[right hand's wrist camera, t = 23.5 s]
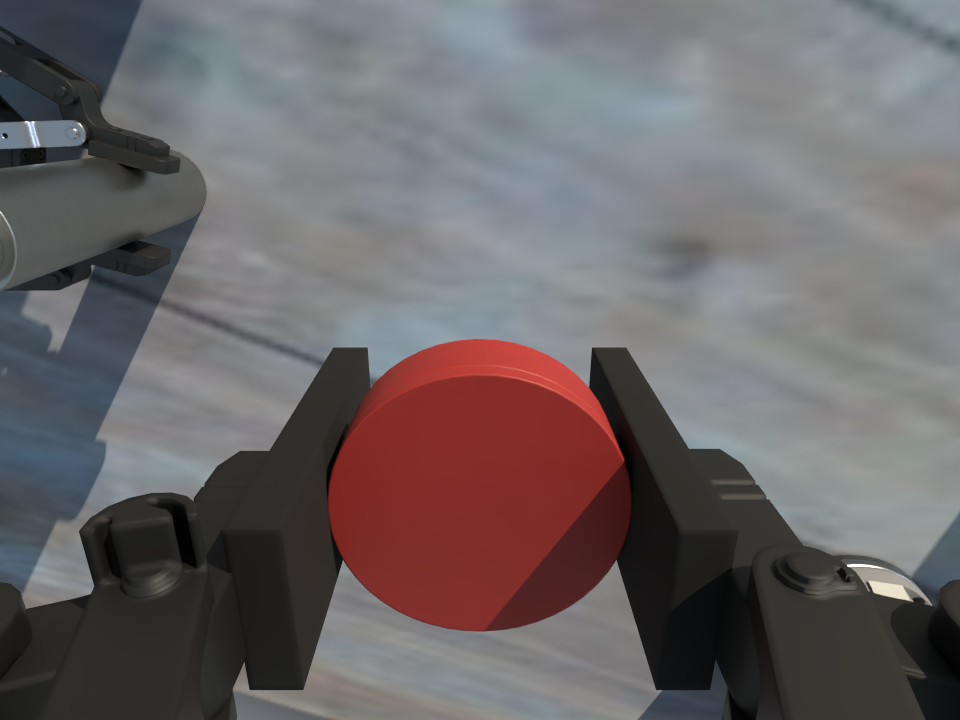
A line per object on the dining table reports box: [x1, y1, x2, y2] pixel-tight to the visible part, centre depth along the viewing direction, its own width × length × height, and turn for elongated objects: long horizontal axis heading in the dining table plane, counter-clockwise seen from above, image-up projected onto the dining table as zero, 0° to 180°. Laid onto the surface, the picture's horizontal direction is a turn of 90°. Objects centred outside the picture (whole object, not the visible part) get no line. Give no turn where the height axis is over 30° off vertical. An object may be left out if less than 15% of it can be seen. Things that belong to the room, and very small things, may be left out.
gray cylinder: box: [0, 150, 206, 292], centre depth 30 cm, size 4×4×19 cm
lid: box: [327, 339, 632, 631], centre depth 11 cm, size 5×5×2 cm
